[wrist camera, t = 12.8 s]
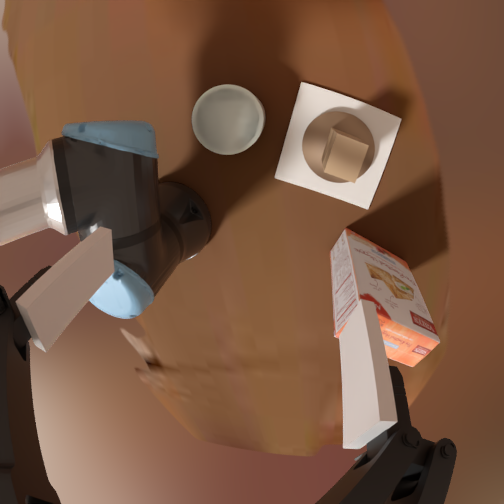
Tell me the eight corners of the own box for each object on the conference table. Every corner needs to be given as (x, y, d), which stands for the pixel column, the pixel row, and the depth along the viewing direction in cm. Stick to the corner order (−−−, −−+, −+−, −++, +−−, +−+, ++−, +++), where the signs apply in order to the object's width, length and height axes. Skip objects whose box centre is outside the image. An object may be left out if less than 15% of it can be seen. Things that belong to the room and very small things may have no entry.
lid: (359, 190, 41) (371, 214, 33) (293, 167, 42) (288, 185, 33) (382, 127, 36) (402, 134, 27) (313, 101, 36) (314, 99, 27)
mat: (367, 208, 43) (367, 209, 43) (274, 177, 44) (274, 178, 43) (400, 118, 35) (401, 118, 34) (301, 82, 35) (301, 81, 35)
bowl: (261, 154, 42) (253, 162, 37) (202, 140, 43) (186, 146, 37) (277, 94, 37) (271, 92, 32) (214, 82, 38) (199, 79, 32)
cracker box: (407, 259, 46) (442, 343, 28) (388, 282, 49) (412, 370, 31) (345, 223, 45) (362, 305, 27) (328, 251, 48) (332, 339, 31)
